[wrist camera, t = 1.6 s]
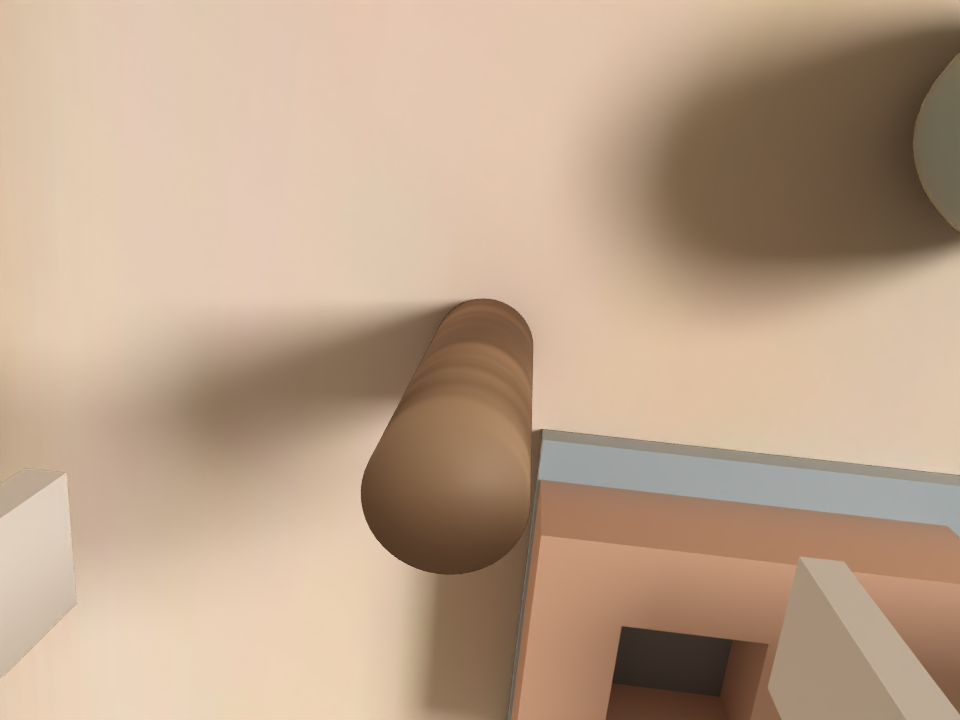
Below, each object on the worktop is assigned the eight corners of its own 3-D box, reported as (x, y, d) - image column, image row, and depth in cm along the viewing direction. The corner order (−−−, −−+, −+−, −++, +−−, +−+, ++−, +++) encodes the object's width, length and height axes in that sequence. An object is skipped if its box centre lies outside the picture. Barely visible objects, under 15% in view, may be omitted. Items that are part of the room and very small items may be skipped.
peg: (439, 294, 26) (364, 411, 15) (538, 303, 26) (539, 430, 15) (432, 387, 27) (357, 563, 16) (527, 397, 27) (520, 584, 16)
